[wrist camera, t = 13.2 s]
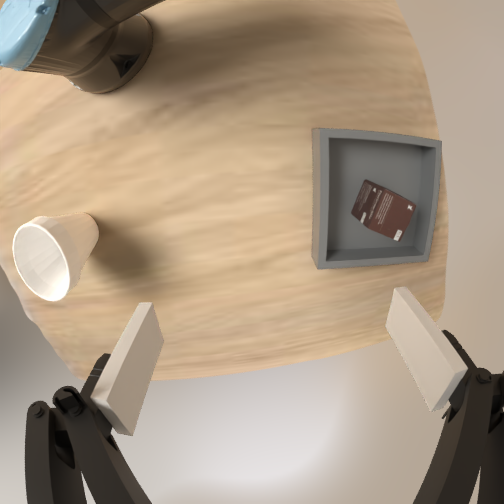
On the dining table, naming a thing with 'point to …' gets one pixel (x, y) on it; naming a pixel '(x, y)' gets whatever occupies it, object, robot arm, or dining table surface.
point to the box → (383, 210)
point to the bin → (349, 184)
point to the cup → (54, 252)
